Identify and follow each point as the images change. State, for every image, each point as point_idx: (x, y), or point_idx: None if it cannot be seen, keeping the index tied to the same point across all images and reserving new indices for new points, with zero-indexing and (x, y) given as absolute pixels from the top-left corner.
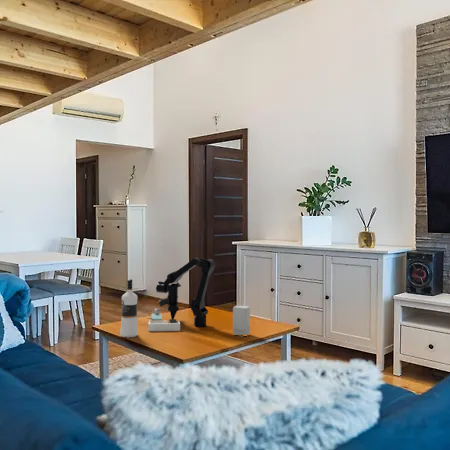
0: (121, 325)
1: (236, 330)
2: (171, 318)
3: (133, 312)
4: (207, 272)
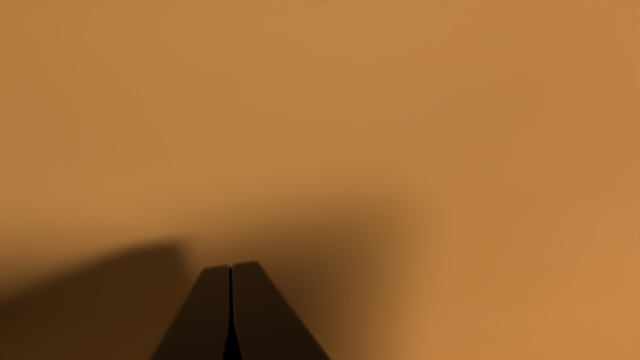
0: None
1: None
2: (183, 302)
3: None
4: None
